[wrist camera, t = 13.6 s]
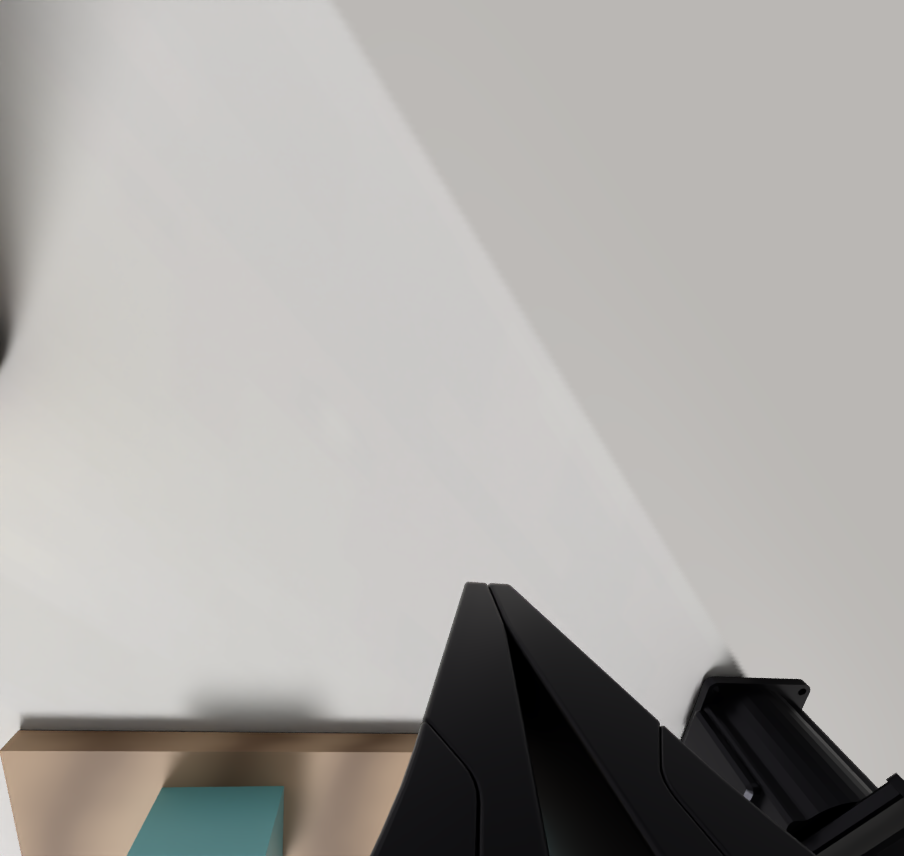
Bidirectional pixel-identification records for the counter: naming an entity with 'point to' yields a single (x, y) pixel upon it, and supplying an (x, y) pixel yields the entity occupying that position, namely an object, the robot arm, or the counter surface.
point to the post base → (199, 784)
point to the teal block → (213, 822)
